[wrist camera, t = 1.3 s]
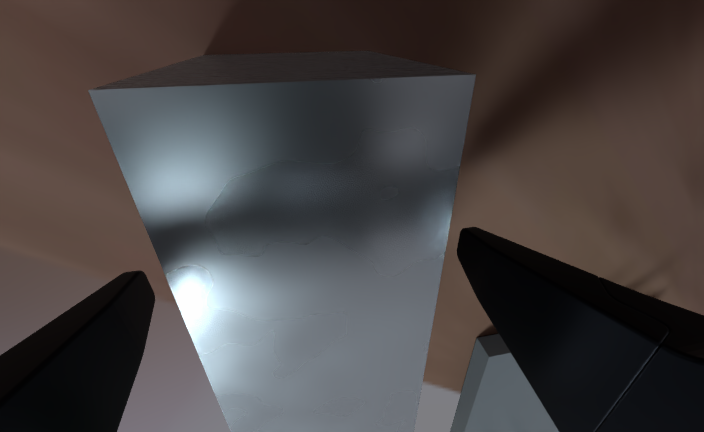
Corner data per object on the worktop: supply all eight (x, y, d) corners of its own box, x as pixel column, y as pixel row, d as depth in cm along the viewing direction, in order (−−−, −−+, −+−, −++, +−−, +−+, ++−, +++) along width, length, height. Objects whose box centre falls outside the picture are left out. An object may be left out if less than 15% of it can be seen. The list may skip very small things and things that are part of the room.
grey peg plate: (643, 306, 19) (727, 369, 15) (562, 431, 27) (605, 493, 23) (476, 337, 17) (527, 417, 14) (441, 462, 25) (468, 533, 21)
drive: (369, 50, 9) (480, 74, 4) (365, 298, 14) (412, 446, 9) (202, 54, 8) (82, 90, 3) (261, 314, 13) (250, 485, 8)
